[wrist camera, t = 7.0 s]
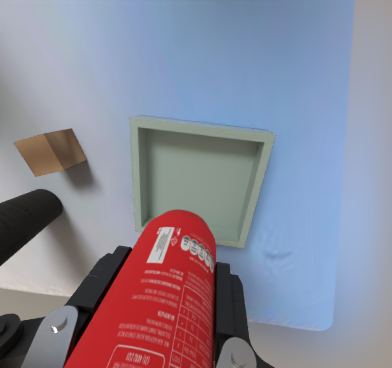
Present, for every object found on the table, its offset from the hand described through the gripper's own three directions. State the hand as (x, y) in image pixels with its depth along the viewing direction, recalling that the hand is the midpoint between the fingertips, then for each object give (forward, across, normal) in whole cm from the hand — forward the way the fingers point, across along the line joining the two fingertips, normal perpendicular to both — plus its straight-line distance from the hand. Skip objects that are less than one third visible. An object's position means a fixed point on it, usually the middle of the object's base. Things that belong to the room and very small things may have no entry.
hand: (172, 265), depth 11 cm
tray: (+13, 0, 0) cm, 13 cm away
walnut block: (+13, +17, -2) cm, 22 cm away
